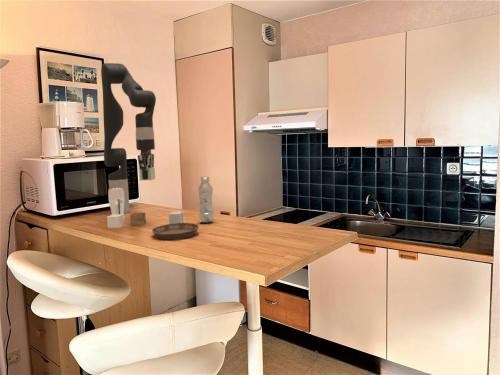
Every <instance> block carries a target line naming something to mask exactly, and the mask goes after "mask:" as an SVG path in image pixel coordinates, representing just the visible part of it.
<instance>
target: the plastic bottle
mask: <svg viewBox="0 0 500 375" xmlns="http://www.w3.org/2000/svg"><path fill="white" fill-rule="evenodd" d="M213 190H214V189H213V186H212V185H211V183H210V176H200V184H199V186H198V189H197V192H198V198H199V218H198V219H199V221H200V222H201V223H205V224H208V223H212V222H214V218H215V214H214V208H213Z"/></svg>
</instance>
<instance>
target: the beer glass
mask: <svg viewBox="0 0 500 375" xmlns="http://www.w3.org/2000/svg"><path fill="white" fill-rule="evenodd" d="M107 193H108V203H109V208H110V212H112V213H111V215H117V214H123V218H124V222H125V221H126V218H125V213H124V201H125V198H124V190H123V188H111V189H109V188H108V192H107Z"/></svg>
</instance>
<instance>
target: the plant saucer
mask: <svg viewBox="0 0 500 375" xmlns="http://www.w3.org/2000/svg"><path fill="white" fill-rule="evenodd" d="M199 227H200V226H199V225H198V224H197V223H190V222H184V223H175V224H167V223H166V224H163V225H159V226H155V227H154V228H152V229H151V232H152V233H153V234H154V236H155V237H156V238H158V239H160V240H181V238H182V239H186V237H187V238H189V237H190V238H191V237H192V236H194V235H195V234H196V232H197V231H198V230H199Z"/></svg>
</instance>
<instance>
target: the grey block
mask: <svg viewBox="0 0 500 375" xmlns="http://www.w3.org/2000/svg"><path fill="white" fill-rule="evenodd" d="M168 223H169V224H175V223H185V221H184V211H171V212H170V213H168Z"/></svg>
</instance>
